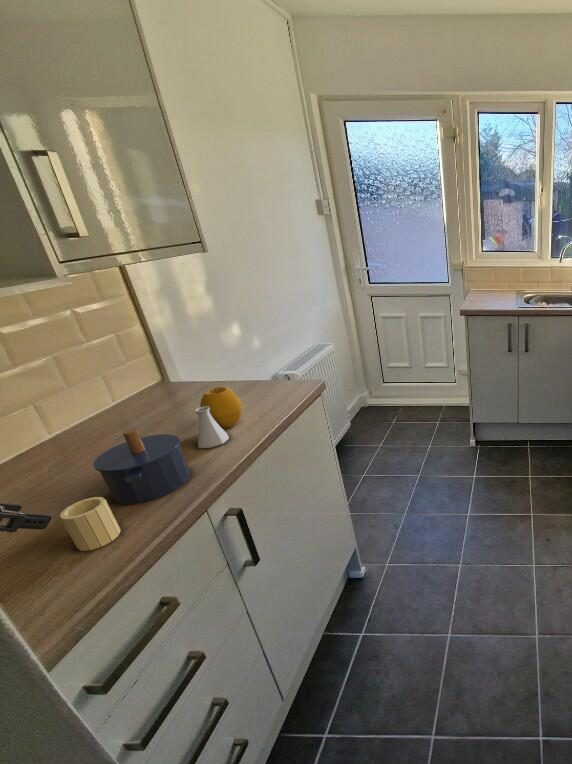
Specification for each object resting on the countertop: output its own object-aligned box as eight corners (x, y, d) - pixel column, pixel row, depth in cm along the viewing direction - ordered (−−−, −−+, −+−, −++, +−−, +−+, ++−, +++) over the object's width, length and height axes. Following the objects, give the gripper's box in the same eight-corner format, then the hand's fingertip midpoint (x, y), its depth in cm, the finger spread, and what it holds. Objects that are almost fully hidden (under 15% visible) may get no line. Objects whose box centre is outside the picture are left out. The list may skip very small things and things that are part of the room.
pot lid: (86, 483, 82) (72, 457, 80) (105, 449, 93) (93, 426, 91) (177, 460, 89) (167, 436, 86) (184, 432, 100) (175, 409, 98)
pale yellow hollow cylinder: (73, 555, 75) (54, 523, 72) (83, 535, 80) (66, 504, 77) (116, 542, 78) (100, 510, 75) (123, 523, 83) (108, 493, 80)
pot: (102, 520, 84) (85, 485, 80) (123, 473, 99) (109, 442, 95) (185, 497, 90) (172, 464, 87) (193, 456, 105) (181, 426, 102)
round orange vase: (215, 419, 123) (202, 383, 118) (251, 415, 125) (240, 379, 121) (201, 435, 114) (188, 397, 110) (241, 430, 117) (229, 393, 112)
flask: (194, 451, 107) (181, 417, 103) (201, 438, 113) (189, 405, 109) (226, 445, 109) (215, 412, 106) (232, 432, 116) (221, 400, 112)
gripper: (-76, 487, 54) (71, 502, 69) (-128, 468, 59) (21, 486, 73) (-117, 547, 52) (45, 550, 66) (-168, 523, 56) (-6, 530, 71)
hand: (32, 516), depth 70 cm, fingers open, 8 cm apart
